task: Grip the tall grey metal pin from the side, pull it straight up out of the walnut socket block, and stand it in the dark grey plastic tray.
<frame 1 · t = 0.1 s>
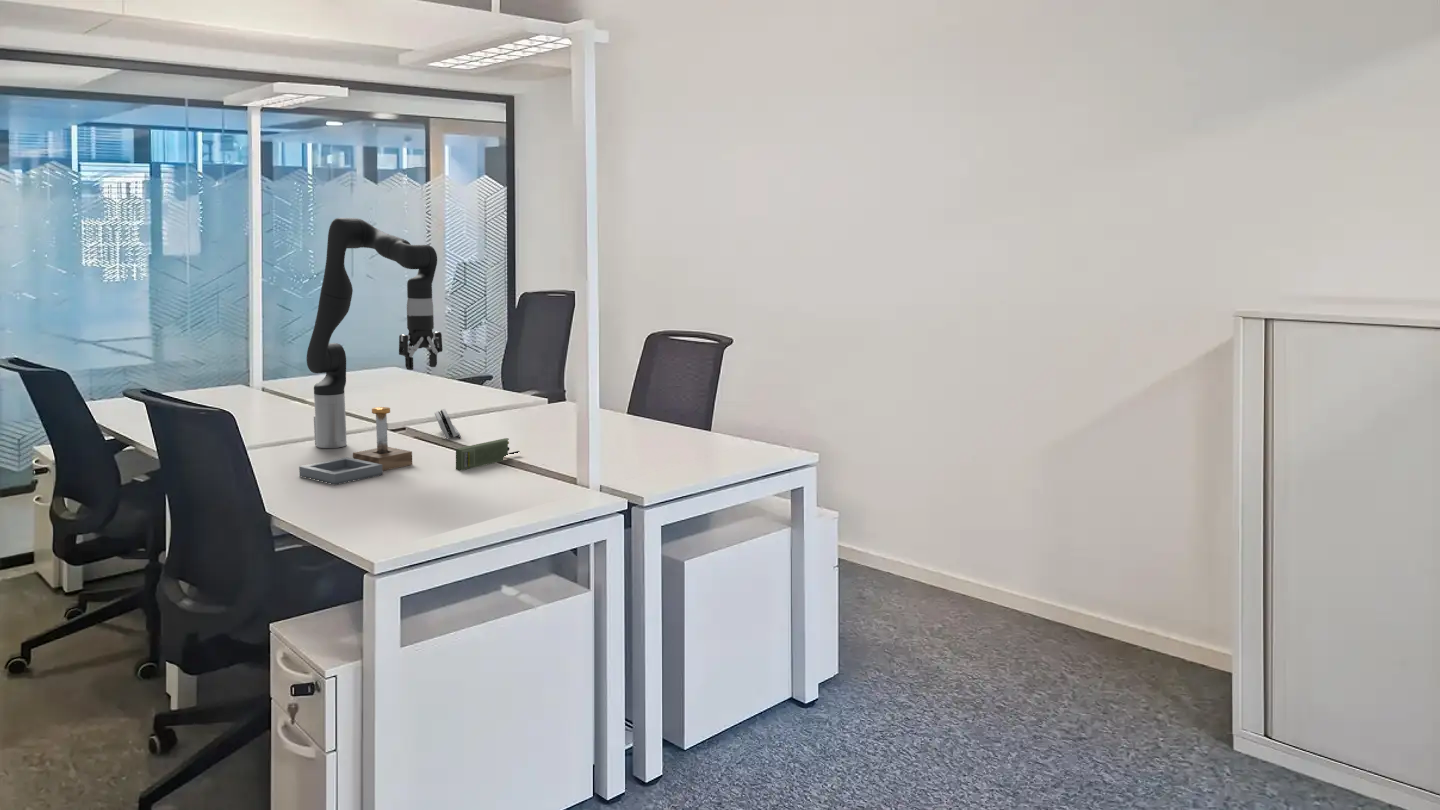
hand: (421, 368, 317), 29 cm above the table, tool pointing down, fingers open, 8 cm apart
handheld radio: (489, 464, 325), on the table
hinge: (447, 435, 368), on the table
pin: (382, 437, 318), in the socket block
tray: (341, 475, 306), on the table
socket block: (383, 465, 320), on the table
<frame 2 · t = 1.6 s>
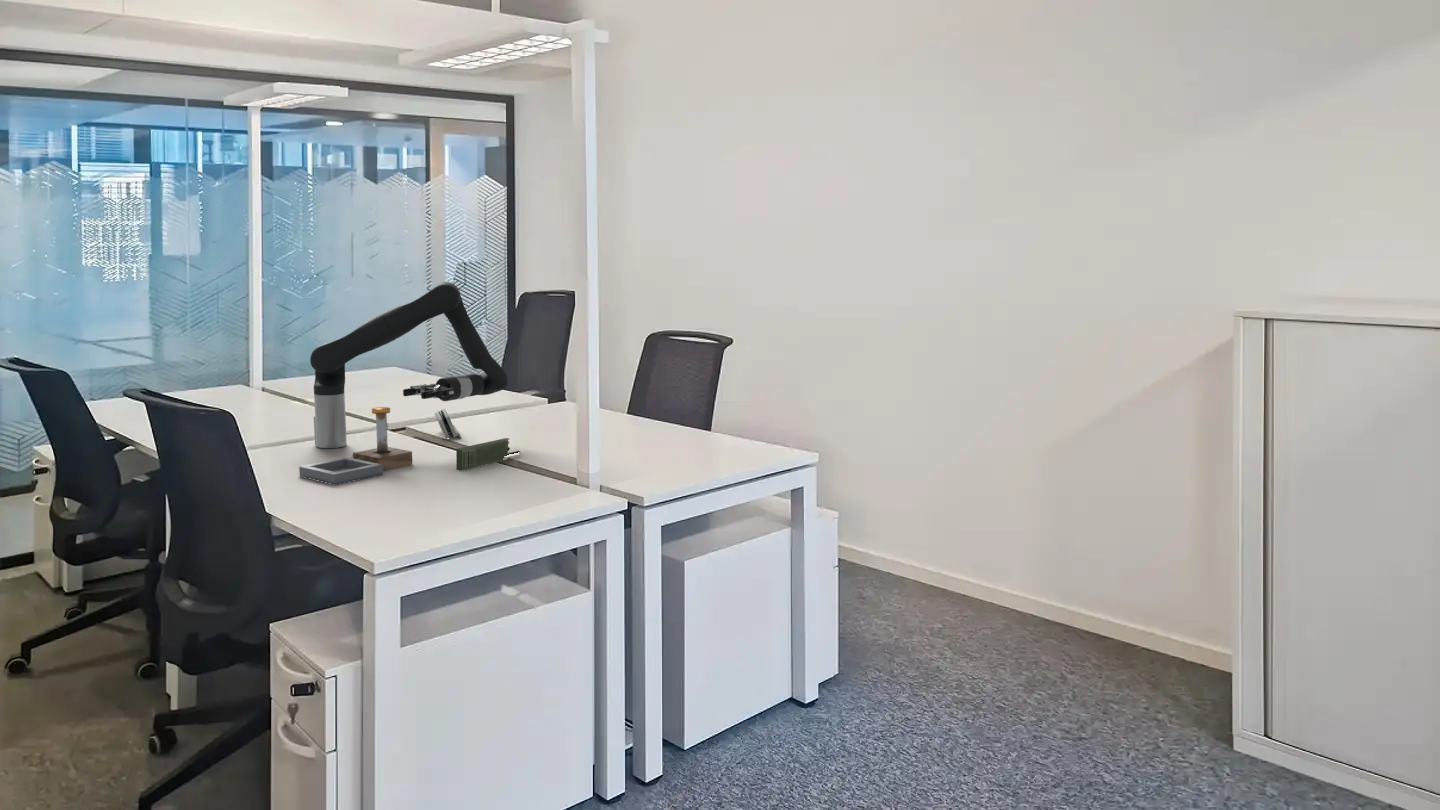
hand: (412, 394, 326), 20 cm above the table, tool horizontal, fingers open, 8 cm apart
nothing on the table moved.
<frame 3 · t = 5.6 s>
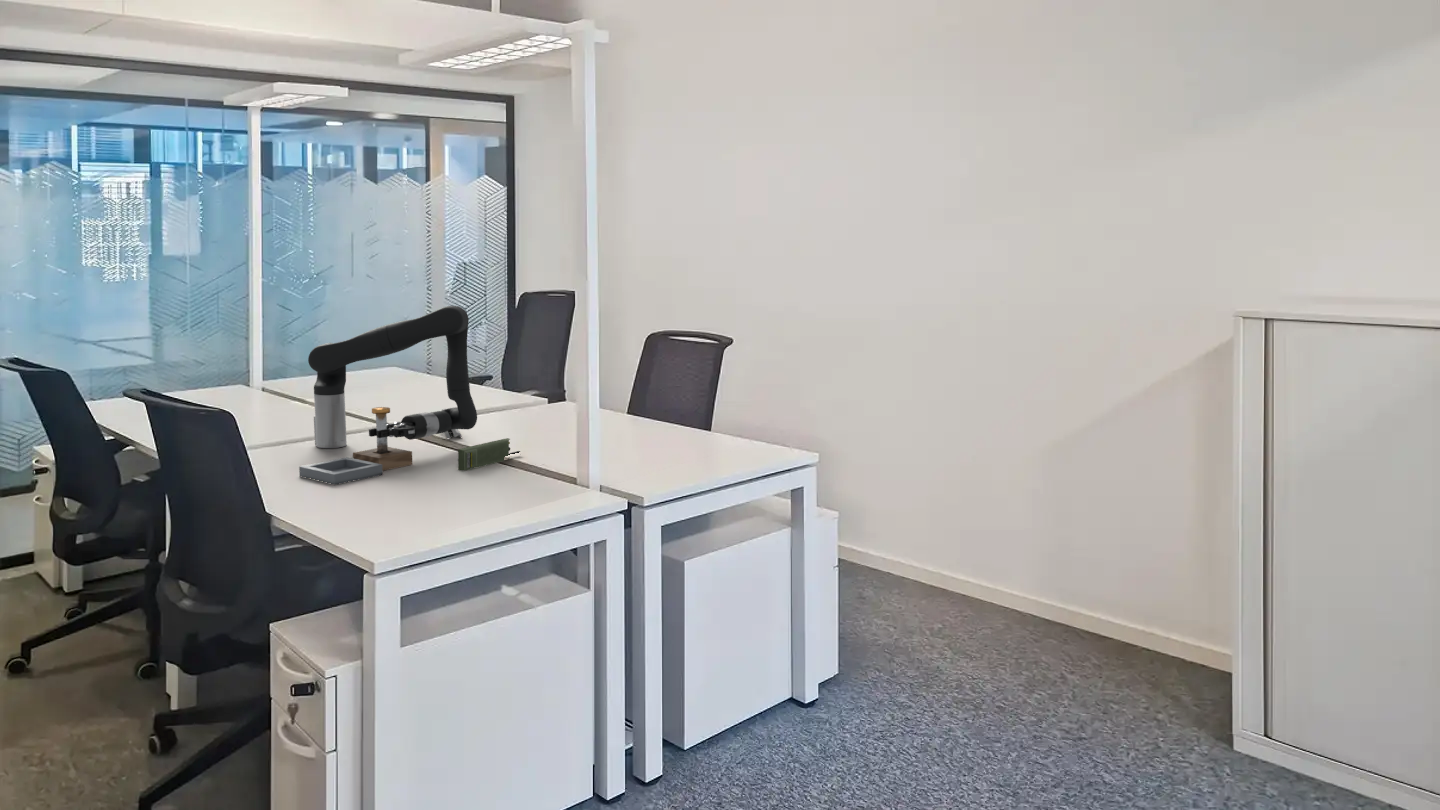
hand: (373, 433, 316), 10 cm above the table, tool horizontal, fingers closed on pin, 3 cm apart
pin: (382, 437, 318), in the socket block, touching gripper
everything else where it was.
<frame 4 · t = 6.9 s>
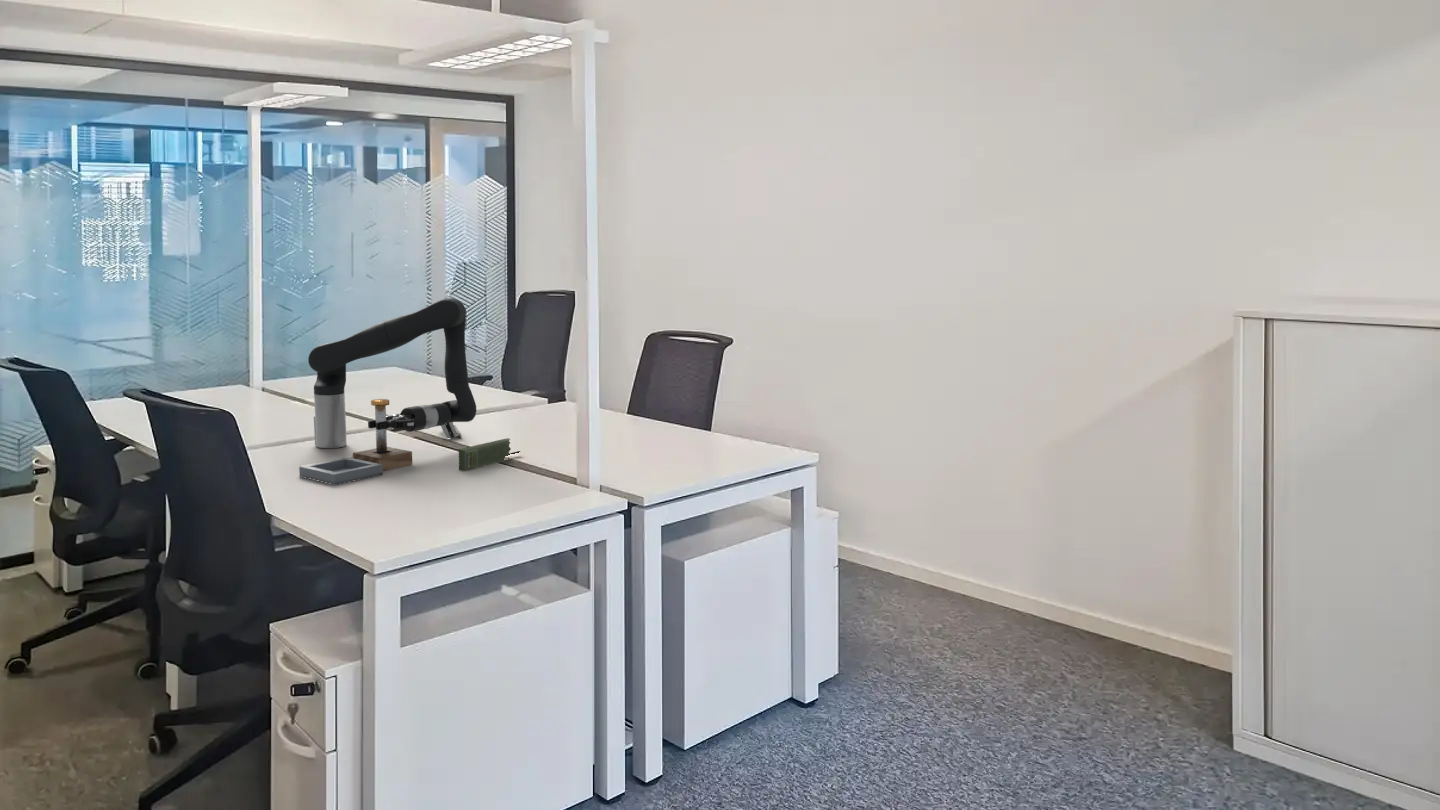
hand: (373, 425, 315), 12 cm above the table, tool horizontal, fingers closed on pin, 3 cm apart
pin: (381, 428, 318), point 11 cm above the table, touching gripper
everything else where it was.
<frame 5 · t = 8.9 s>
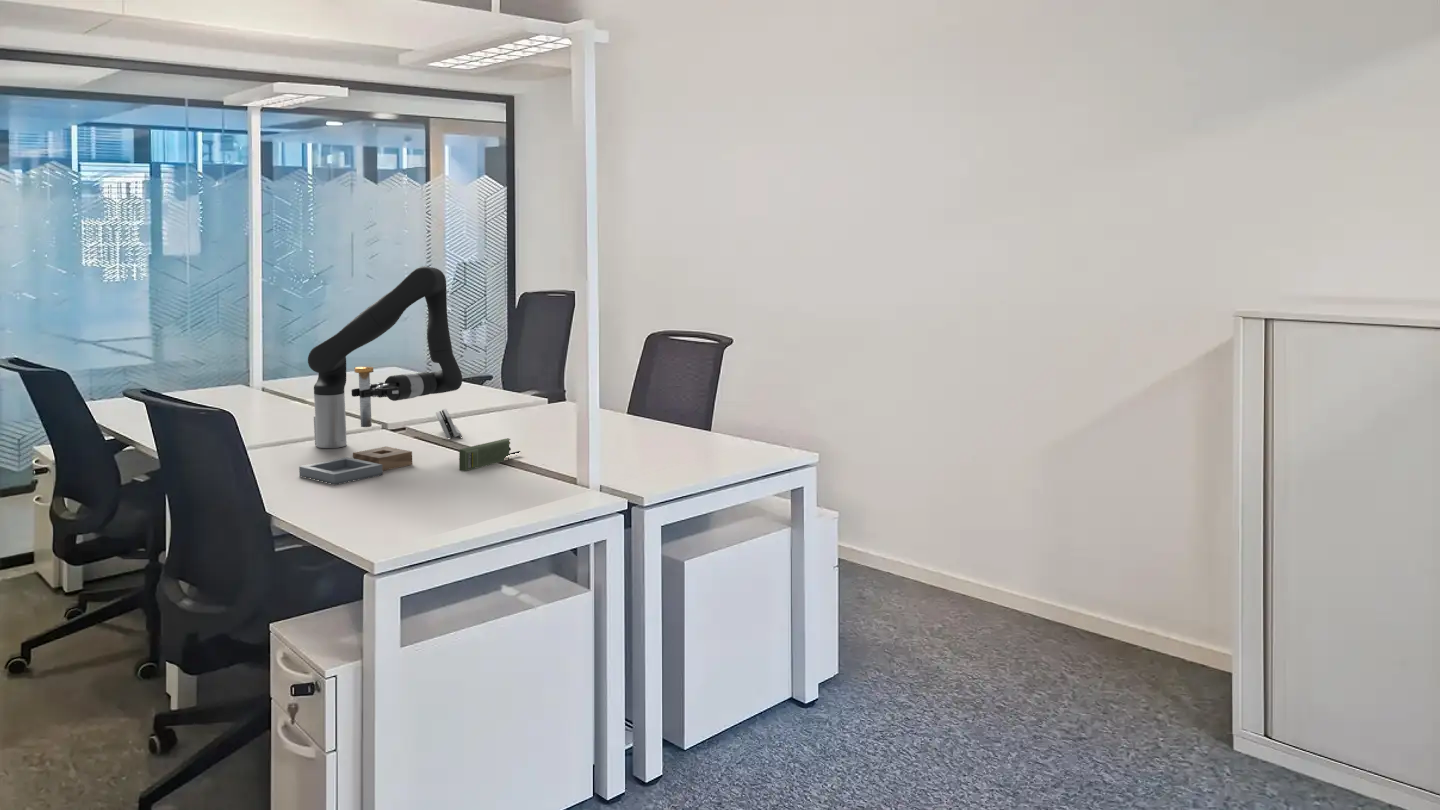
hand: (356, 393, 308), 23 cm above the table, tool horizontal, fingers closed on pin, 3 cm apart
pin: (365, 397, 311), point 22 cm above the table, touching gripper
everything else where it was.
when the fingers open (12 cm above the table, at t = 11.8 s): pin drops 2 cm, resting on tray.
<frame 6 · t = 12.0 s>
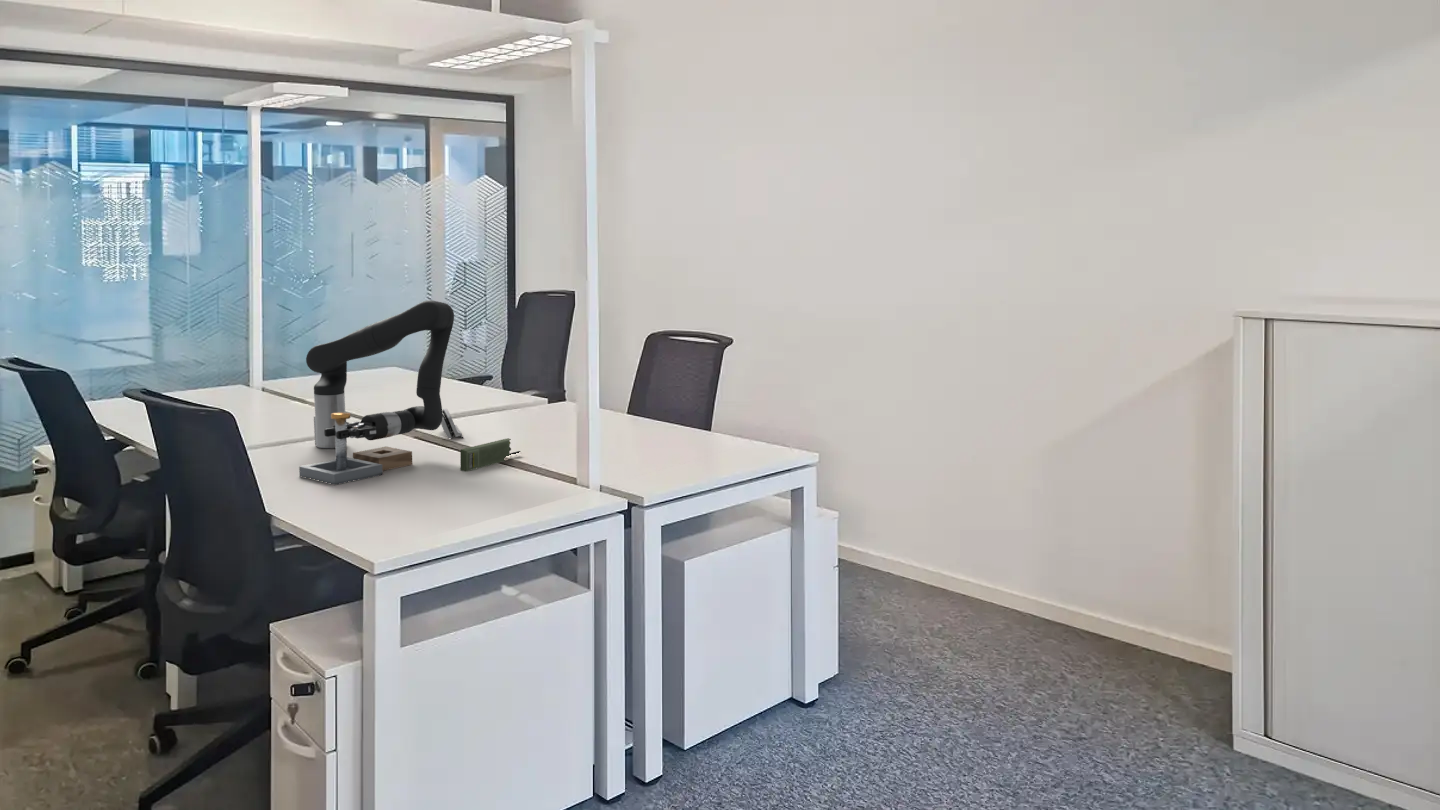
hand: (331, 434, 301), 12 cm above the table, tool horizontal, fingers open, 5 cm apart
pin: (341, 443, 304), in the tray, point 9 cm above the table
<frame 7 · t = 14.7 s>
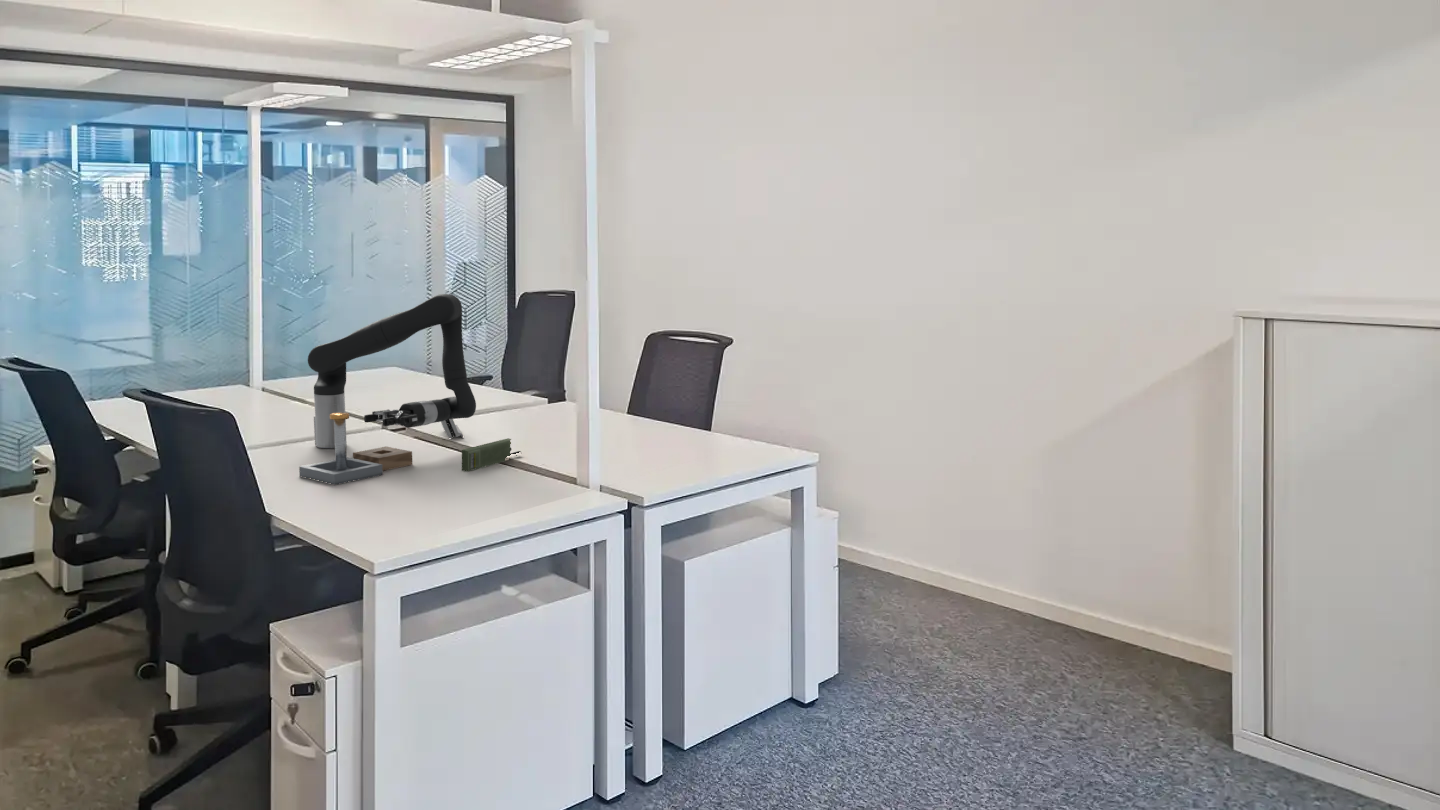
hand: (374, 420, 313), 14 cm above the table, tool horizontal, fingers open, 8 cm apart
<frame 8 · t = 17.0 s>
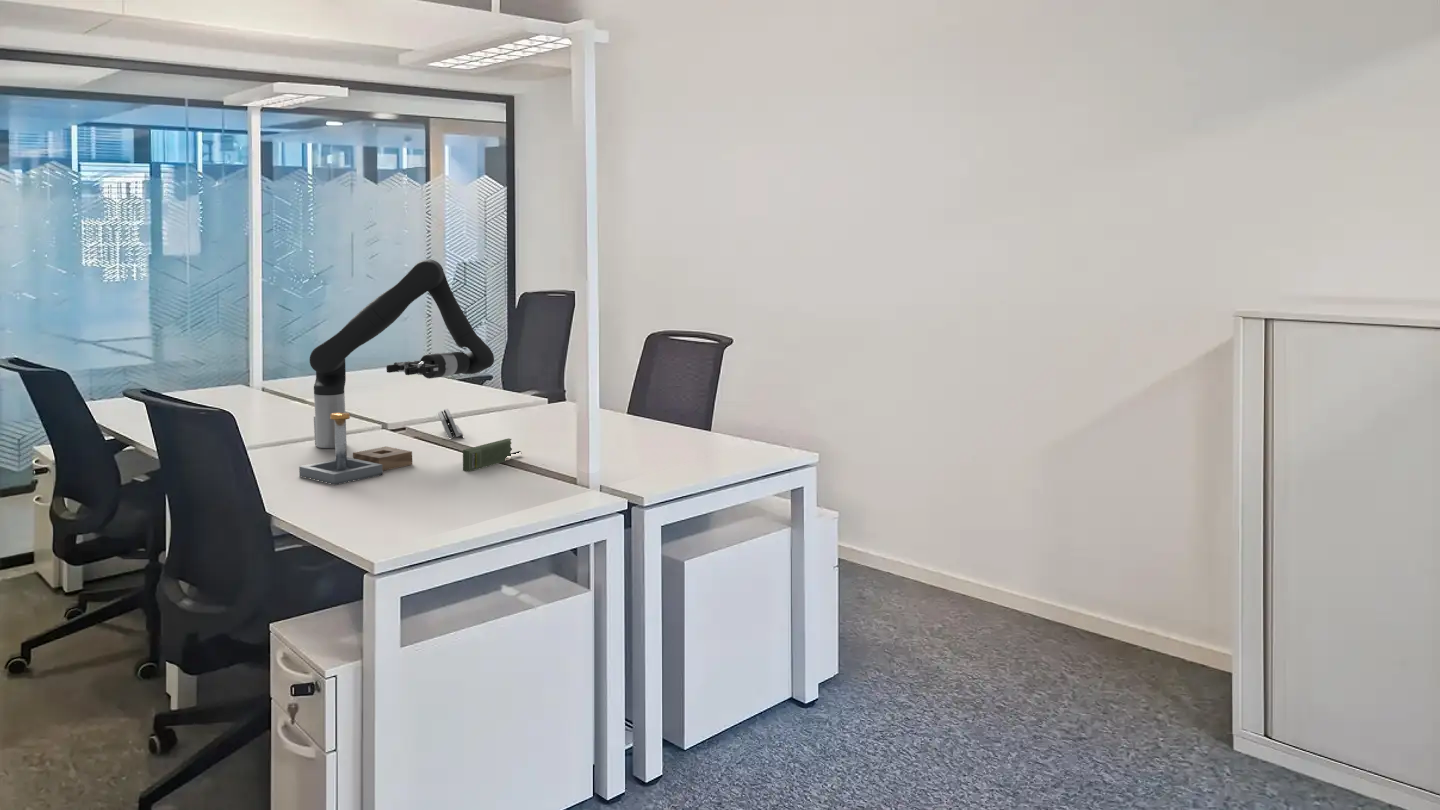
hand: (396, 370, 320), 28 cm above the table, tool horizontal, fingers open, 8 cm apart
at the end: pin inside the target area on the tray (0.1 cm from its centre), point 9.2 cm above the tray's base; the gripper is holding nothing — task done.
